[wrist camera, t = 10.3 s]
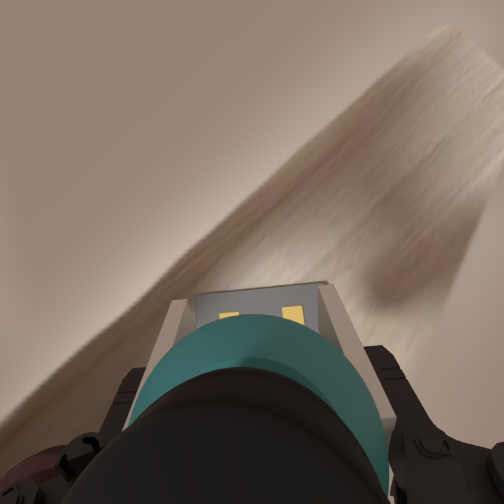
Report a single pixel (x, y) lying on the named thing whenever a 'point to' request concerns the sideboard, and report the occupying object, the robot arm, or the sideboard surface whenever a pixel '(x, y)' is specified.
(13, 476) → the coffee cup
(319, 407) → the beverage bottle
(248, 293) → the letter board
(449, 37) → the sideboard surface
